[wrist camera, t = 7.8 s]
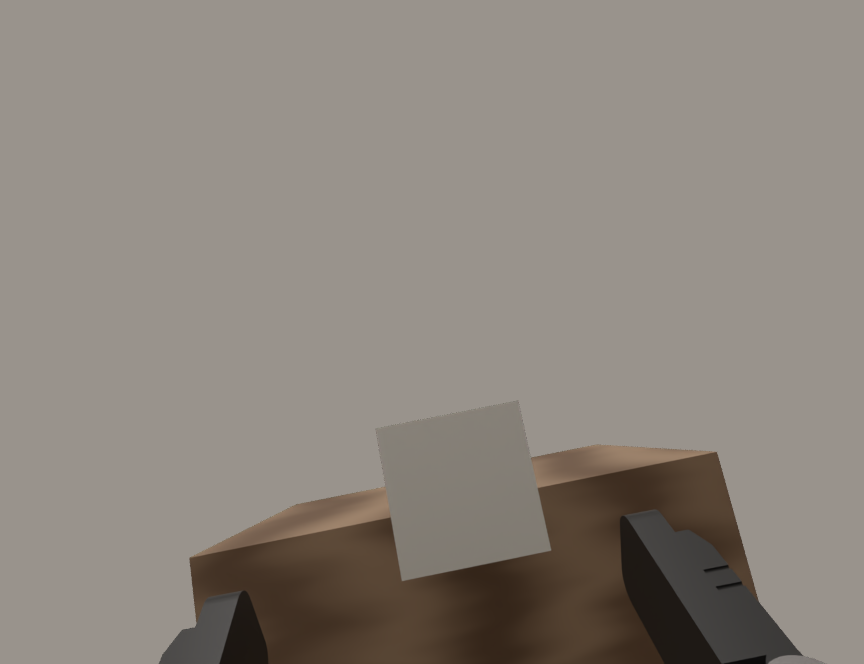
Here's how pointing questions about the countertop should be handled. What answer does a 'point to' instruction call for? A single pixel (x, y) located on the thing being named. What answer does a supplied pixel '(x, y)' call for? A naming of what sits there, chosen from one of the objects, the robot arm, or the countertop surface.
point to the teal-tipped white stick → (461, 490)
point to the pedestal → (472, 571)
